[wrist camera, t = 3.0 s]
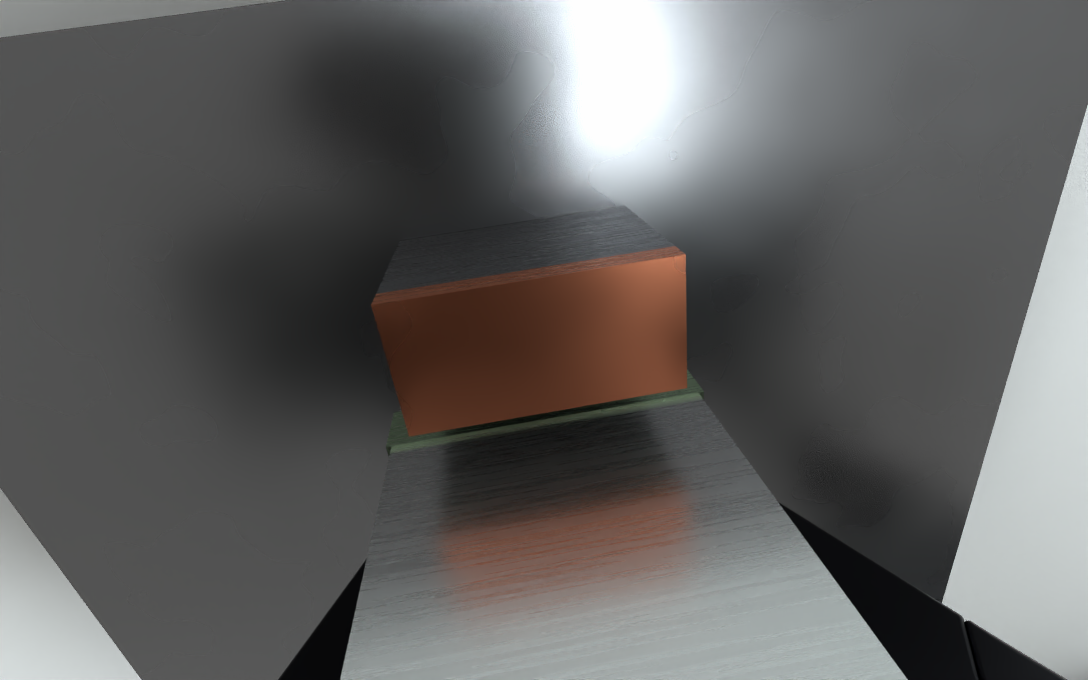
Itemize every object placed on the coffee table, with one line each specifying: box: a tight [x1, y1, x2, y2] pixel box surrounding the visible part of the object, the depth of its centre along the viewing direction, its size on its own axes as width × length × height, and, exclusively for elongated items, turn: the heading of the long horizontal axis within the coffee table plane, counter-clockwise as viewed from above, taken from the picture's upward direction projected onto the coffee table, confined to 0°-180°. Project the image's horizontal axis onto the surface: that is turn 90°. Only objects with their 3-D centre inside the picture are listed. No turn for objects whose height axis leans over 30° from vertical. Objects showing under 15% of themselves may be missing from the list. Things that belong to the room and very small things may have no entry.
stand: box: [0, 0, 1088, 680], centre depth 9 cm, size 16×14×4 cm
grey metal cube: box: [340, 370, 907, 680], centre depth 6 cm, size 4×4×5 cm
